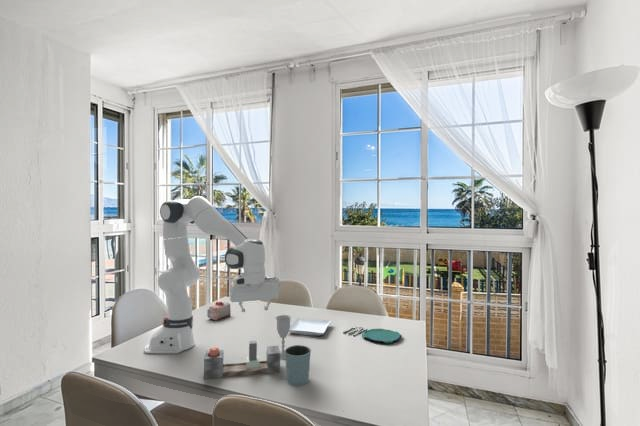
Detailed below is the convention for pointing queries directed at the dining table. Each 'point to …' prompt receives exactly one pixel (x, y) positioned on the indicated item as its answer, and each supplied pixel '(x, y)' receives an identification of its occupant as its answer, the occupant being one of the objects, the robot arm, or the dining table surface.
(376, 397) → the dining table surface
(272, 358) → the rail
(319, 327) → the salad plate
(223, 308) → the food item
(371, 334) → the cutlery set
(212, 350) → the button
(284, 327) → the chalice
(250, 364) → the carriage
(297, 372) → the blue-grey cup
